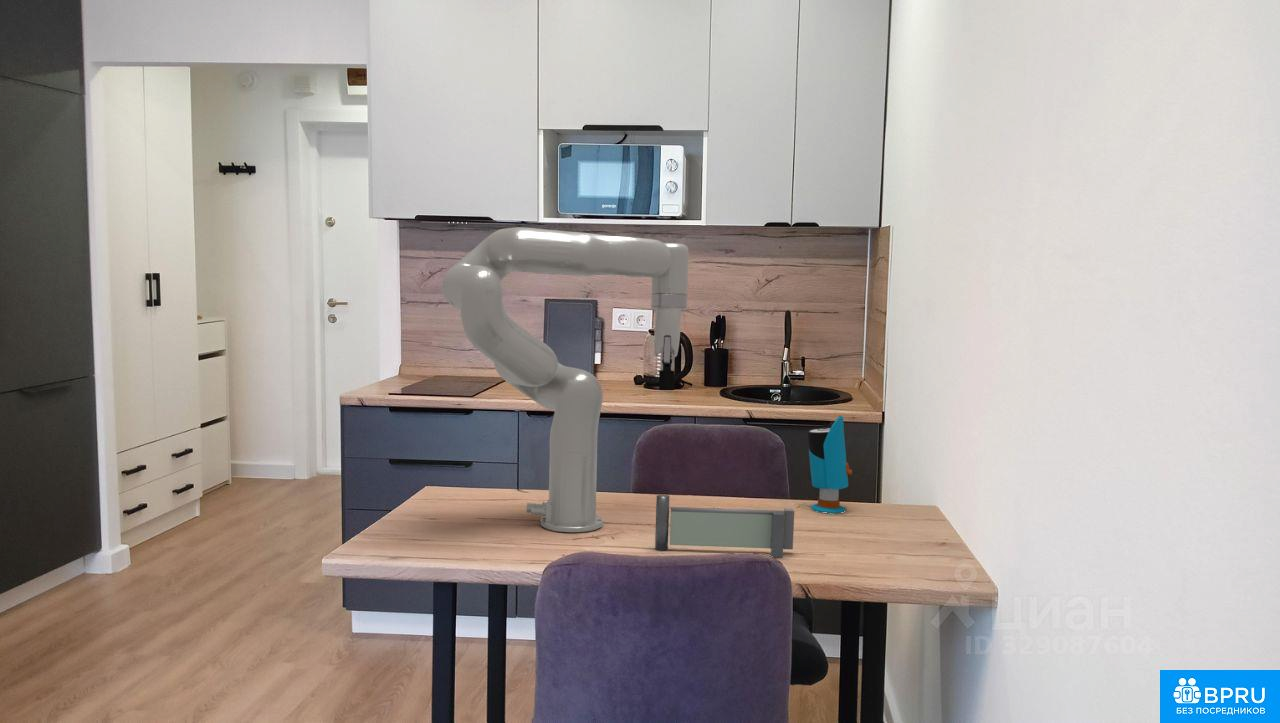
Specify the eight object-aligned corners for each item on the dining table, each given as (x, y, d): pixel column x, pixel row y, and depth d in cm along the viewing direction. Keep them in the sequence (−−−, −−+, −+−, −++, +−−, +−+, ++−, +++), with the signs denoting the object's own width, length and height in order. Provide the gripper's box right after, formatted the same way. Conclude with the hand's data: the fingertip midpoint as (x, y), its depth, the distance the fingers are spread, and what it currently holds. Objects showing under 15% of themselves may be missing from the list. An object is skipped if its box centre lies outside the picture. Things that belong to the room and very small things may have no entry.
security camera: (808, 411, 209) (854, 413, 207) (804, 503, 211) (849, 507, 209) (807, 416, 201) (855, 418, 199) (803, 512, 202) (850, 516, 200)
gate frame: (654, 550, 170) (655, 497, 169) (655, 546, 173) (657, 494, 172) (782, 558, 167) (785, 504, 167) (782, 554, 170) (784, 501, 169)
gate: (669, 545, 170) (670, 506, 170) (669, 542, 172) (670, 504, 171) (792, 549, 170) (794, 510, 169) (791, 547, 171) (793, 508, 171)
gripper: (652, 301, 201) (650, 385, 203) (649, 302, 186) (647, 393, 188) (687, 302, 201) (684, 386, 202) (686, 303, 186) (683, 394, 187)
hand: (666, 389), depth 195 cm, fingers closed
